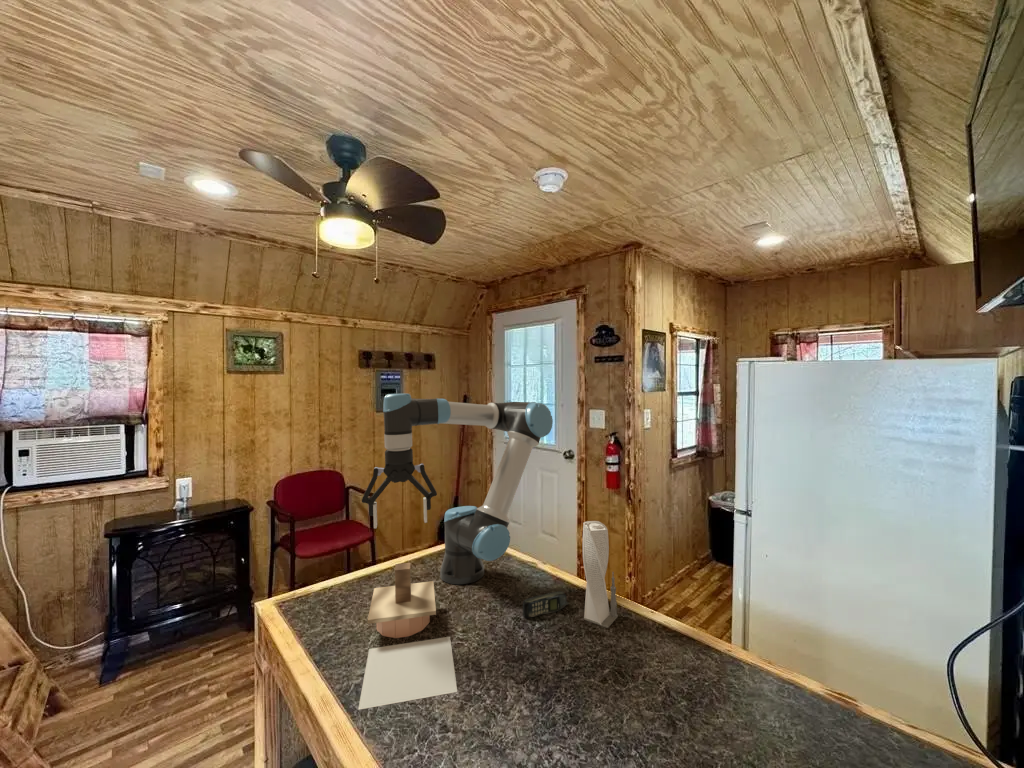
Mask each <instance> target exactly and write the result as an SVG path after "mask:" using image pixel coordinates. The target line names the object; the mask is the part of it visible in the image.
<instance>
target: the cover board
mask: <svg viewBox="0 0 1024 768" xmlns="http://www.w3.org/2000/svg"><path fill="white" fill-rule="evenodd" d="M411 571H412V570H411V562H404V563H403V562H401V563H395V567H394V585H389V586H381V587H374V588H373V591H372V592H373V594H372V597H371V602H370V607H369V612H368V616H367V624H368V625H370V624H371V625H372V624H376V623H379V622H386V621H393V620H401V619H408V618H415V617H422V616H429V617H430V616H434V615H435V616H436V615H437V608H436V607H437V606H436V596H435V585H434V580H432V581H423V582H414V583H412V582H411V581H412V579H411Z"/></svg>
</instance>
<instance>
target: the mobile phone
mask: <svg viewBox="0 0 1024 768" xmlns="http://www.w3.org/2000/svg"><path fill="white" fill-rule="evenodd" d="M569 604H570V602H569V601H567V595H566V593H565V592H564V591H562V590H558V591H553V592H548V593H544V594H541V595H535V596H532V597H529V598H526V599H524V600H523V601H522V615H523V618H524V619H531V618H535V617H537V616H543V615H546V614H552V613H556V612H558V611H560V610H562V609H564V608H565V607H566V606H567V605H569Z"/></svg>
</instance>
